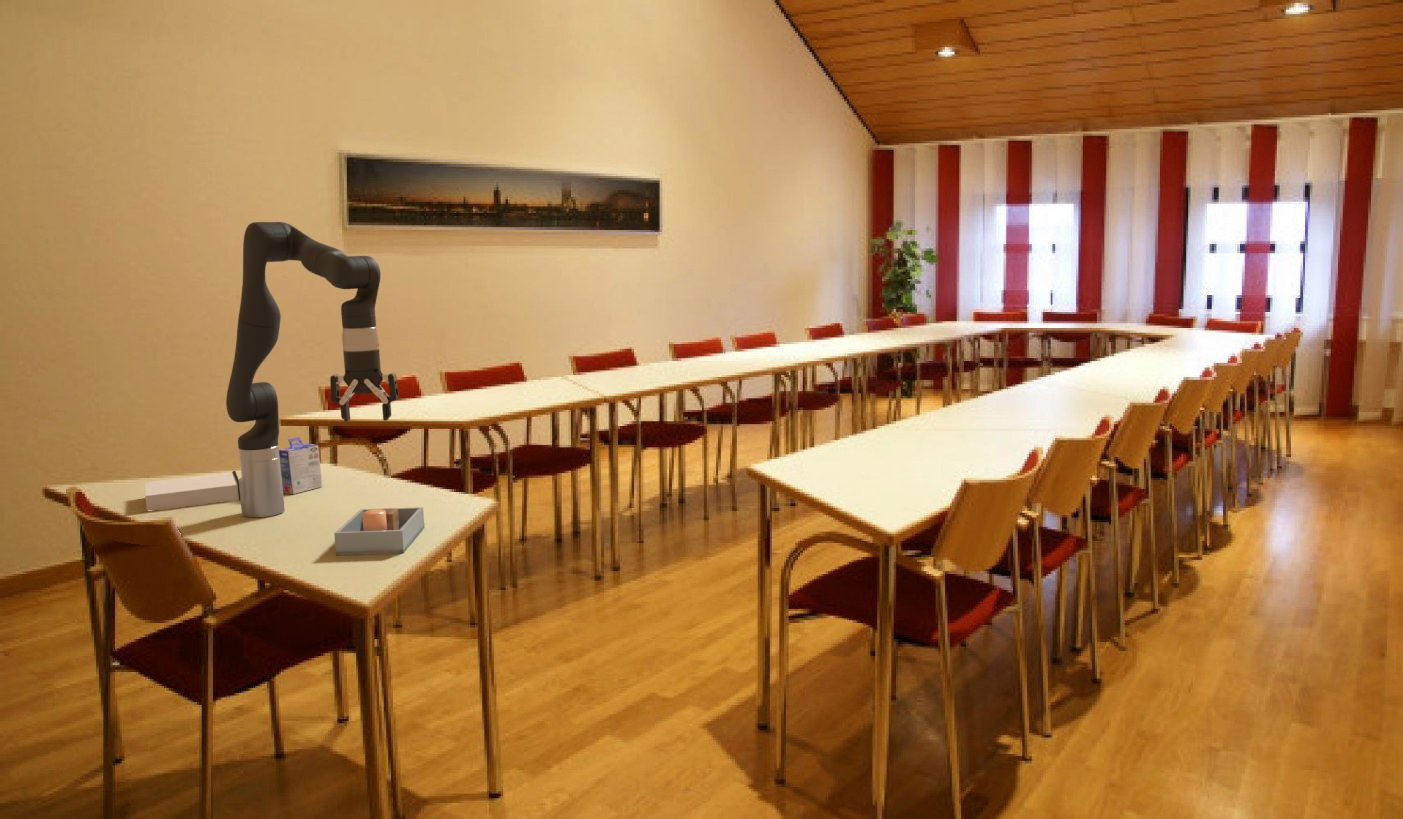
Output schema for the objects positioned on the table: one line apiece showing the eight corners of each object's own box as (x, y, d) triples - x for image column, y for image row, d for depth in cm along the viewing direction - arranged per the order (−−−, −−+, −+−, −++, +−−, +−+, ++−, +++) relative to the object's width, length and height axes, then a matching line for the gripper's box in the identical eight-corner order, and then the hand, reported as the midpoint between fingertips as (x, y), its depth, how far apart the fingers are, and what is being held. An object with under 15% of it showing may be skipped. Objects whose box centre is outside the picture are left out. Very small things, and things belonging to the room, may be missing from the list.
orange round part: (362, 546, 222) (359, 516, 221) (368, 539, 227) (365, 509, 226) (385, 545, 223) (382, 514, 221) (390, 538, 227) (387, 508, 226)
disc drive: (242, 501, 270) (240, 483, 269) (147, 513, 259) (144, 495, 258) (237, 487, 285) (235, 470, 284) (147, 499, 274) (145, 481, 274)
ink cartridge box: (311, 485, 284) (306, 434, 282) (323, 487, 282) (319, 436, 279) (280, 492, 276) (275, 441, 274) (293, 495, 273) (288, 442, 271)
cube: (372, 536, 230) (370, 514, 229) (378, 529, 235) (376, 509, 234) (394, 535, 230) (392, 514, 230) (399, 529, 235) (398, 508, 235)
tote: (336, 555, 219) (334, 533, 218) (362, 529, 238) (360, 509, 238) (403, 553, 220) (402, 530, 219) (424, 527, 239) (423, 507, 238)
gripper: (322, 350, 217) (329, 424, 219) (389, 348, 217) (394, 422, 220) (333, 347, 224) (339, 418, 227) (398, 345, 224) (403, 416, 227)
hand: (366, 420), depth 223 cm, fingers open, 8 cm apart
